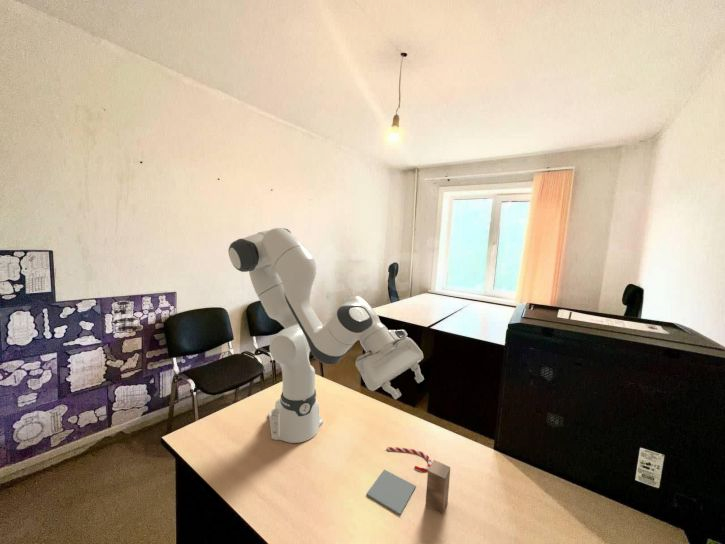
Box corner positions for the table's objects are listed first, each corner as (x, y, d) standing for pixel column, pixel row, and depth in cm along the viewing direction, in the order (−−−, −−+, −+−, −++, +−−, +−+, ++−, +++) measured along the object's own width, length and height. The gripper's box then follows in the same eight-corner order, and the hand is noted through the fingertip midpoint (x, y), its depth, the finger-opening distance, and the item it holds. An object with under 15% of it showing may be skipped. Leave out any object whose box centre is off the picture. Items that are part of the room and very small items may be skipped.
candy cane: (389, 440, 98) (434, 454, 92) (389, 444, 98) (434, 458, 92) (382, 456, 90) (430, 472, 85) (381, 460, 91) (430, 476, 85)
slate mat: (366, 495, 77) (366, 493, 77) (384, 470, 86) (384, 469, 86) (400, 515, 72) (400, 513, 72) (415, 487, 80) (415, 485, 80)
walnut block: (425, 505, 75) (427, 470, 74) (431, 493, 79) (433, 459, 78) (442, 514, 73) (445, 478, 71) (447, 501, 76) (450, 467, 75)
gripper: (356, 353, 73) (388, 403, 67) (408, 328, 86) (439, 368, 80) (347, 365, 77) (377, 413, 71) (398, 339, 90) (427, 377, 84)
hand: (410, 388), depth 76 cm, fingers open, 8 cm apart
